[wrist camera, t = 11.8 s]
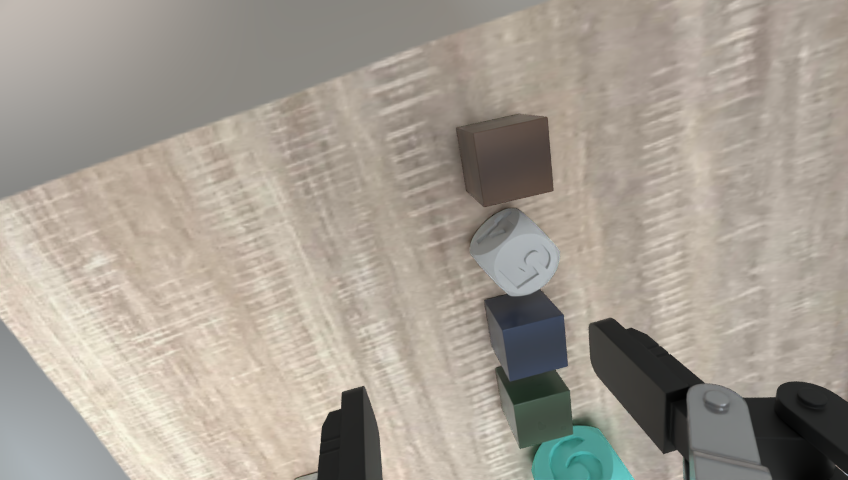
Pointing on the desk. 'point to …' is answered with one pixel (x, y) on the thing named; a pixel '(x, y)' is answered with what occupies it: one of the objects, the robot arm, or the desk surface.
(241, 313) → the desk surface
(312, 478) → the small box
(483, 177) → the row of mixed cubes
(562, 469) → the decorative dice
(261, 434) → the desk surface
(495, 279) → the die
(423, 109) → the desk surface
